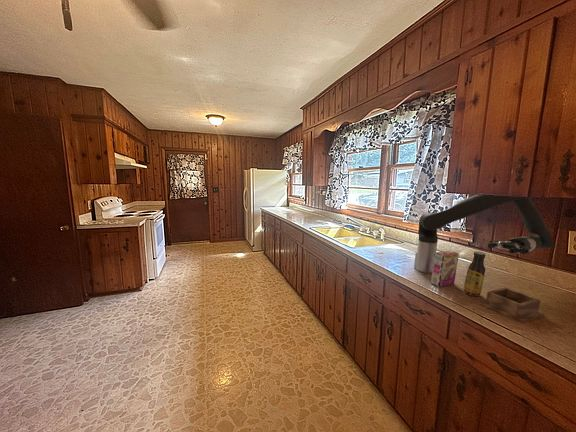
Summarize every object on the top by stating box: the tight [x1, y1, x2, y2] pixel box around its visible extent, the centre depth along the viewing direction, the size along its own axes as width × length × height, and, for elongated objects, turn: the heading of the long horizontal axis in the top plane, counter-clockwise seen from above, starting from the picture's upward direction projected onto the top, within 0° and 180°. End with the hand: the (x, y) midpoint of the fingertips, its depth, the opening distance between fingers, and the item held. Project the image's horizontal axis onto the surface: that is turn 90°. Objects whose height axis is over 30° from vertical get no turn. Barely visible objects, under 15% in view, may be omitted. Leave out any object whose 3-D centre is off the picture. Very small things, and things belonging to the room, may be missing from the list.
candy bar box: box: [430, 250, 460, 288], centre depth 118 cm, size 11×5×16 cm, turn 111°
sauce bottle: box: [463, 251, 487, 297], centre depth 108 cm, size 6×6×20 cm
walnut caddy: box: [480, 286, 544, 324], centre depth 96 cm, size 14×14×6 cm
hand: (499, 248), depth 111 cm, fingers open, 8 cm apart
